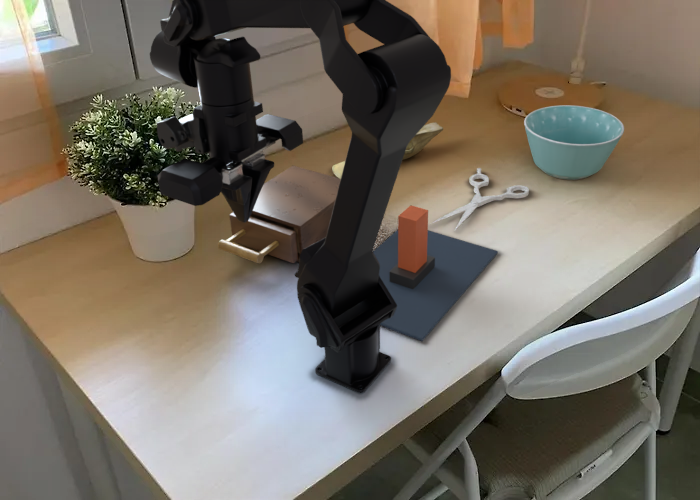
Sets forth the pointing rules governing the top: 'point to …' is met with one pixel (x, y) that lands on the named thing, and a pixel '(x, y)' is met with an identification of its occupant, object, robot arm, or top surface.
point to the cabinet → (299, 202)
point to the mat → (431, 281)
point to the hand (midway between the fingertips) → (243, 220)
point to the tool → (412, 148)
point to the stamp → (412, 248)
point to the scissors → (484, 197)
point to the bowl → (571, 139)
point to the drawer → (261, 239)
